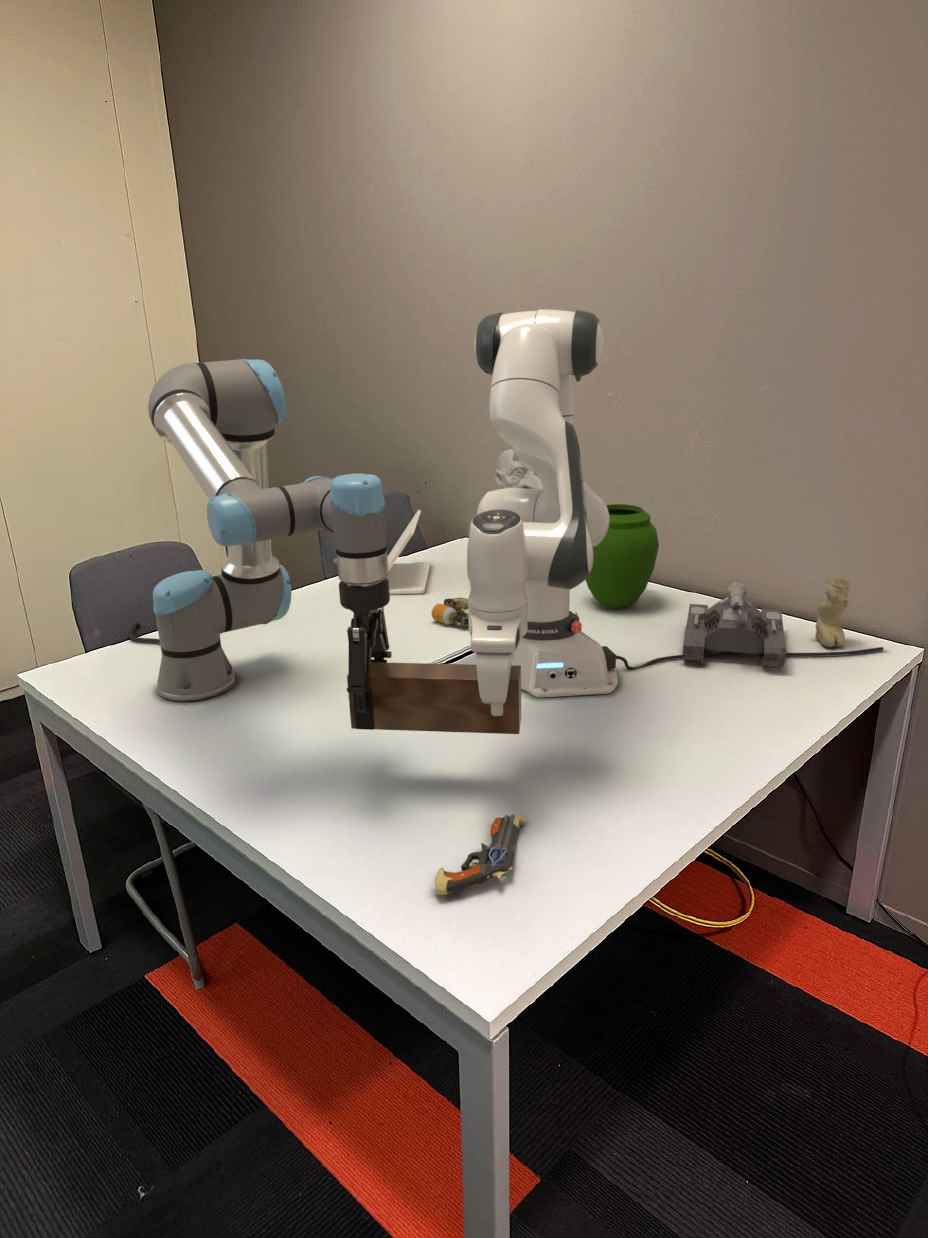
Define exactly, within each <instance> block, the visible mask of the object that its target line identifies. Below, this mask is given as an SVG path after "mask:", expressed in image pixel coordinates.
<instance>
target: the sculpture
mask: <svg viewBox="0 0 928 1238" xmlns="http://www.w3.org/2000/svg"><path fill="white" fill-rule="evenodd" d="M826 581H827V586H826V588H825V590H824V593H825V595H826V596H827V598H826V600H824V601H822V602H821V603H820V604H819V605H818V606H817V609H816V610H817V612H818V614H819V616H818V617H817V619H816V623H815V630H816V631H815V634H814V635H815V639H817V640H819V642H820V643H821V644H822V645H823V646H825V647H827V648H832V647H834V646H835V647H843V646H844V645H845V643H846V642H845V641H846V636H845V632H844V630H843V626H842V624H841V622H840V621H841V617H842V615H843V612H844V610H845V609H846V608H847V606H848V604H849V603H848V602H849V601H847V598H848V597H849V592H850V586H851V585H852V582H850V580H848V579H847V578H845V577H841V576H840V577H835V578H831V577H827V578H826Z"/></svg>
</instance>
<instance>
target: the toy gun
mask: <svg viewBox="0 0 928 1238" xmlns="http://www.w3.org/2000/svg"><path fill="white" fill-rule="evenodd" d="M524 821H525V820H524V815H522V814H519V815H516V814H514V813H513V814H511V815H508V814H505V815H504V816H498V817H495V818H494V820H493V822H492V825H491V828H490V836H491V838H492V839H491V842H490V844H489V845H486V844H484V843H482V842H481V843H480V845H481V851H474V852H470V853H469V854H467V858H466V859H465V861H464V862H463V863H462V864H461V865H460V867H461V868H460V869H461V871H456V872H451V871H446V870H445V869H444V867H443V866H442V867H440V868H439V869H438V870H437V873H436V875H435V878H434V884H435V889H436V890H435V891H436V894H437V895H438V896H447V895H448V894H451V893H454V892H459V891H462V890H465V889H468V888H470V887H473V886H475V885H480V884H483V883H487V882H489V881H490V880H491V879H494V878H497V881H501V880H502V878H503V877H504V876H505V875H506V872H508V871H511V870H513V864H514V860H515V844H516V840H517V835H518V832H519V829H520V827H521V825H524V824H525V822H524ZM475 860H476V861H478V862H477V863H476V864H473V863H472V862H473V861H475Z"/></svg>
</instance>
